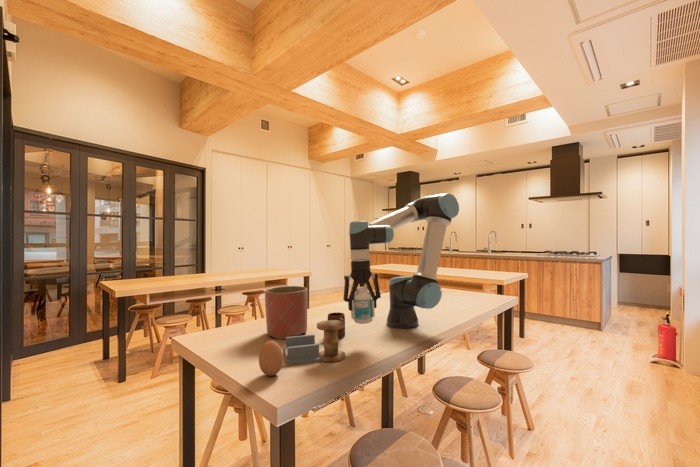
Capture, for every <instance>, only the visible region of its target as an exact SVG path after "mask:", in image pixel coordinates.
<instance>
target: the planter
mask: <svg viewBox="0 0 700 467" xmlns="http://www.w3.org/2000/svg"><path fill="white" fill-rule="evenodd" d="M264 302H265V303H264V306H265V307H264V308H265V319H266V321H265V322H266V324H265V325H266V333H267V335H268V336H269V337H273V338H276V339H278V340H282V341H283V340H286V337H292V336H301V335H303V334H304V335H307V331H308V287H305V286H300V285H288V286H287V285H286V286H285V285H284V286H277V287H276V286H275V287H270V288H266V289H265V290H264Z"/></svg>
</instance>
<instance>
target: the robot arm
mask: <svg viewBox="0 0 700 467" xmlns="http://www.w3.org/2000/svg"><path fill="white" fill-rule="evenodd" d="M403 206H404V207H402V208H399V209H398V210H396V211H393V212H390V213H388V214H386V215H384V216H382V217H380V218H377V219H374V220H372V221H370V222H368V221H367V220H355V221H351V222H350V223H349V228H348V229H349V231H348V234H349V245H350V259H351V261H350V269H351V270H350V271H351V272H350V274H348V275H344V276H343V279H344V289H343V298H342V299H343V301H344V302H346V303H347V304H348V306H347V307H348V310H349V311H350V314H351V316H350V317H351V320H353V321H354V319H355V309H354V302H353V298H354V295H355V293H357V292H356V289H357V287H358V286H359V285H361V284H365V287H367V289H368V291H367V292H368V293H370V294H371V300H372V318H375V317H376V315H375V313H376V312H375V311H376V310H375V309H376V308H377V301H378V299H381V291H380V286H379V280H378V278H379V274H378V273H377V272H376V273H375V272H374V273H373V272H372V271H371V261H370V259H371V256H370V245H372V244H373V245H374V244H375V245H377V244H388V243H389V244H390V243H391V242H392V241H393V240H394V237H395V235H394V234H395V233H394V230H395V229H397V228H399V227H402V226H404V225H406V224H408V223H415V222H418V221H423V220H425V221H426V223H427V226H426V231H425V235H424V239H423V244H422V247H421V252H420V257H419V262H418V265H417V266H418V267H417V271H416V272H415V273H413V274H412V275H405V276H395V277H391V278H390V279H389V285H388V288H389V289H388V290H389V310H388V314H387V317H386V325H387V326H389V327H391V328H396V329H410V328H411V329H412V328H414V327H415V328H416V327H418V325H419V318H418V316H417V311H416V309H415V307H418V308H421V309H428V310H429V309H433V308H435V307H436V306H438V304H439V303H440V301H441V299H442V296H443V293H442V292H443V291H442V288H441V286H440V285H439V279H438V278H437V274H438V273H437V272H438V269H439V263H440V258H441V254H442V250H443V244H444V240H445V235H446V231H447V227H448V226H450V225H451V222H452V219H454V218H455V217H457V216H458V214H459V211H460V205H459V202H458V199H457V198H456V197H455V195H454V194H451V193H449V192H448V193H447V192H446V193H444V192H441V193H439V194H438V193H437V194H433V195H432V194H431V195H425V196H423V197H420V198H417V199H415V200H413V201H411V202H409V203H407V204H405V205H403ZM370 278H371V279H372V282H373V287H374V290H373V287H372V284H371V282H370ZM351 279H352V280H353V282H352V287H351V290H350V289H349V288H350V281H351ZM349 290H350V291H349Z"/></svg>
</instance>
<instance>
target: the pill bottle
mask: <svg viewBox="0 0 700 467" xmlns="http://www.w3.org/2000/svg"><path fill="white" fill-rule="evenodd" d="M371 299H372V297H371V294H370V293H369V291H368V288H367V286H359V287H358V286H357V289H356V292H355V295H354V298H353V302H354V309H355V319H354V320H353V321H354V322H355V323H356V324H360V325H363V324H364V325H365V324H370V323H372V321H373V320H374V319H373V318H374V317H372V300H371Z"/></svg>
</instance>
